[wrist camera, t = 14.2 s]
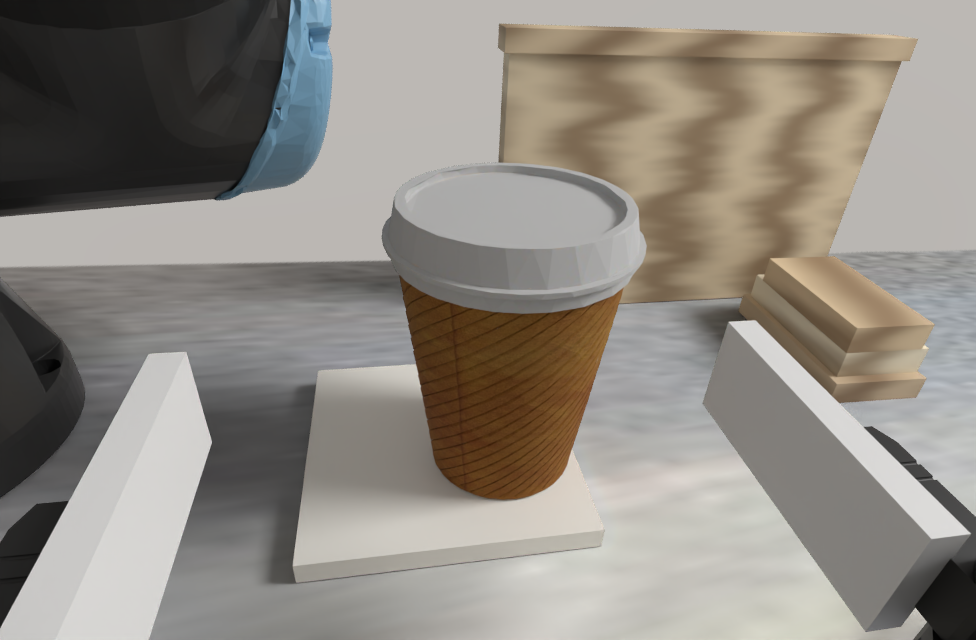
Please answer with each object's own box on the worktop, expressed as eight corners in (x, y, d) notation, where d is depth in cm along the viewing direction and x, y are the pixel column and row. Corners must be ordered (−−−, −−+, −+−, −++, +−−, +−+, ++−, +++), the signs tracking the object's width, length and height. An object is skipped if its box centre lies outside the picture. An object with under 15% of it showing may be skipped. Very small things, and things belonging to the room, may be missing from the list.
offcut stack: (826, 406, 33) (858, 334, 30) (737, 314, 41) (756, 251, 38) (914, 400, 33) (953, 330, 31) (809, 311, 42) (832, 249, 39)
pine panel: (491, 312, 39) (506, 27, 30) (486, 297, 41) (499, 23, 32) (818, 295, 43) (918, 38, 34) (802, 282, 45) (892, 34, 36)
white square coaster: (295, 583, 22) (292, 566, 21) (320, 385, 32) (318, 370, 31) (601, 546, 24) (604, 529, 23) (533, 370, 34) (535, 356, 33)
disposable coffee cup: (519, 363, 33) (536, 148, 26) (649, 470, 26) (712, 216, 20) (361, 426, 28) (335, 181, 22) (471, 575, 21) (479, 286, 15)
